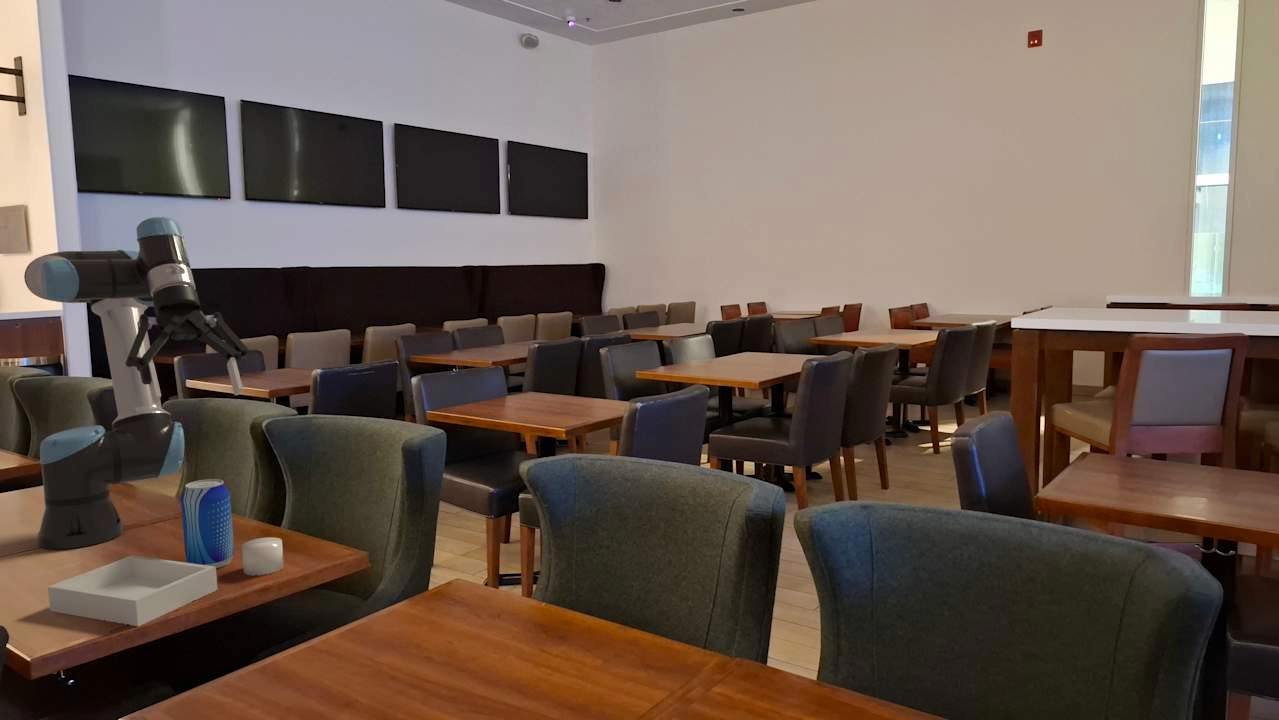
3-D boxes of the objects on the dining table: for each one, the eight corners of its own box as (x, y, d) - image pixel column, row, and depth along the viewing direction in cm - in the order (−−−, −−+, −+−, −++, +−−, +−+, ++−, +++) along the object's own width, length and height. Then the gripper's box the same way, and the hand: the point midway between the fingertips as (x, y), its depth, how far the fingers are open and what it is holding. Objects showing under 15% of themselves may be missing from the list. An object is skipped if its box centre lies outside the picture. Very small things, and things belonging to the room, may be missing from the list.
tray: (50, 611, 146) (47, 586, 145) (134, 577, 161) (132, 555, 160) (138, 626, 139) (135, 600, 138) (217, 590, 154) (215, 566, 153)
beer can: (215, 573, 162) (208, 490, 161) (176, 570, 164) (169, 488, 162) (244, 557, 171) (238, 478, 169) (206, 555, 172) (200, 477, 170)
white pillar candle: (235, 573, 162) (233, 547, 162) (263, 560, 169) (261, 535, 168) (264, 577, 160) (262, 551, 159) (291, 564, 166) (290, 539, 166)
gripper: (100, 283, 150) (124, 392, 143) (249, 282, 167) (276, 380, 161) (93, 305, 155) (115, 412, 148) (238, 302, 172) (264, 397, 166)
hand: (199, 395), depth 155 cm, fingers open, 13 cm apart
